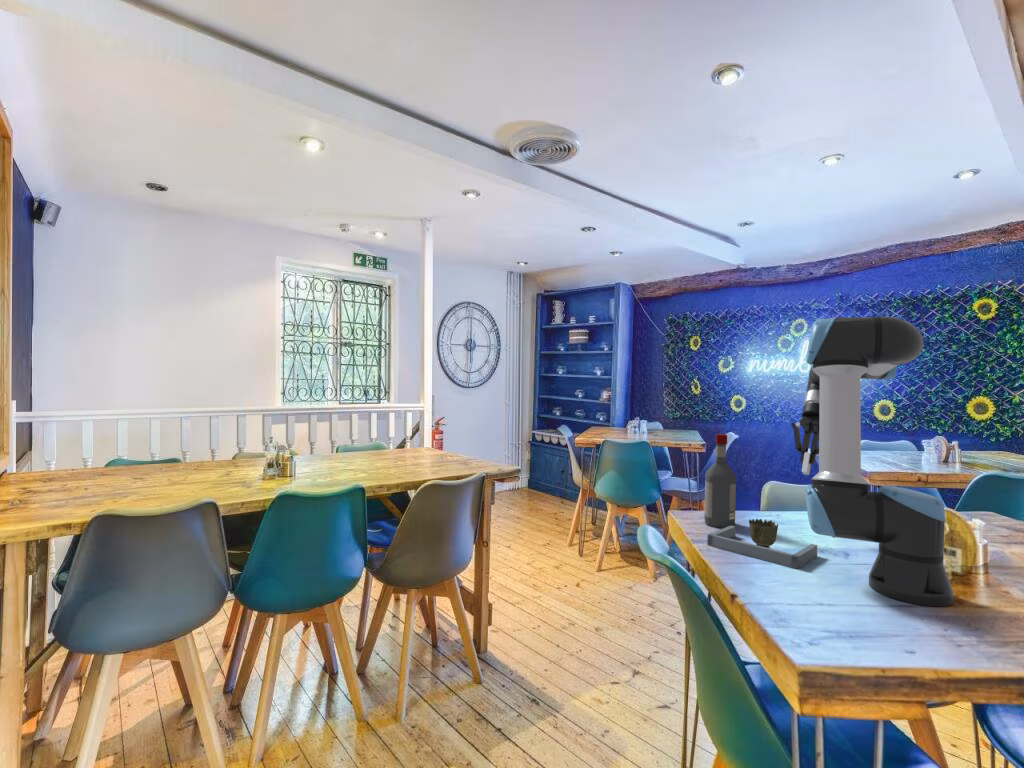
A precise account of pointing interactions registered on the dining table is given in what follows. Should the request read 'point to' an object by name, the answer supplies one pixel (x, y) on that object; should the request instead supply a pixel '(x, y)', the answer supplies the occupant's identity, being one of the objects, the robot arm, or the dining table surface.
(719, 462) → the liquor
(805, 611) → the dining table surface
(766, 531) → the cup
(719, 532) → the corral
